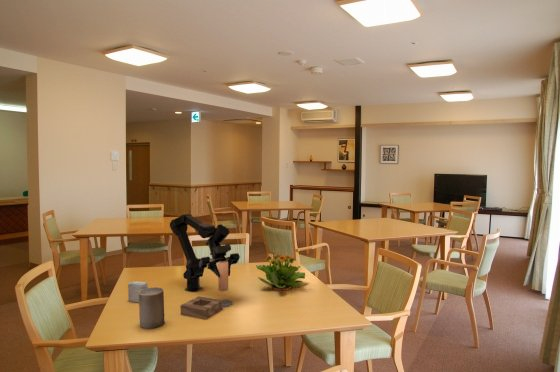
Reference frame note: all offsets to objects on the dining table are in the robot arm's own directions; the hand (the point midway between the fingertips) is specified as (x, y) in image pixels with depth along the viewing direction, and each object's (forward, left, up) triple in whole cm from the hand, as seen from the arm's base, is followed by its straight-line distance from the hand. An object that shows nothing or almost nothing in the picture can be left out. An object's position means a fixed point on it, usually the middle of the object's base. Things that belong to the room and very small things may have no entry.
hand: (224, 276), depth 182 cm
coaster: (-1, -1, -13) cm, 13 cm away
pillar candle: (+31, -15, -14) cm, 37 cm away
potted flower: (-32, +13, -14) cm, 37 cm away
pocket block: (+11, -5, -13) cm, 18 cm away
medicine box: (+13, -40, -14) cm, 44 cm away
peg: (-1, -1, -7) cm, 7 cm away
